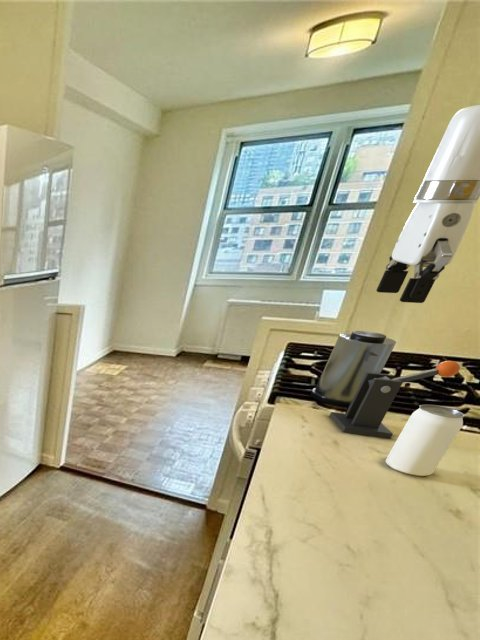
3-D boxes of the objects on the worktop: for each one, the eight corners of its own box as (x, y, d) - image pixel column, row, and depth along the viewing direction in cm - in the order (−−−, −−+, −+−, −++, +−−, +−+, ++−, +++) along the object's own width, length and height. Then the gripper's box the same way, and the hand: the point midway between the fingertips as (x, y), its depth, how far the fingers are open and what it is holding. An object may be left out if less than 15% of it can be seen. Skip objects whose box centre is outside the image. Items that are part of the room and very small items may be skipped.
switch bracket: (373, 422, 110) (399, 372, 104) (390, 438, 102) (419, 386, 97) (329, 416, 112) (352, 368, 107) (343, 432, 105) (368, 381, 100)
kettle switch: (455, 370, 98) (453, 356, 97) (464, 375, 95) (462, 361, 95) (369, 391, 105) (366, 377, 104) (375, 396, 103) (372, 382, 102)
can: (387, 470, 91) (421, 412, 85) (381, 456, 96) (412, 400, 90) (435, 480, 88) (473, 421, 82) (426, 466, 92) (462, 408, 87)
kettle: (355, 393, 125) (386, 329, 117) (377, 413, 114) (413, 344, 106) (302, 387, 129) (329, 325, 121) (319, 406, 118) (350, 339, 110)
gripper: (512, 193, 73) (450, 308, 81) (450, 192, 87) (402, 290, 95) (446, 194, 76) (393, 305, 84) (396, 192, 90) (354, 288, 98)
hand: (398, 297), depth 90 cm, fingers open, 9 cm apart
